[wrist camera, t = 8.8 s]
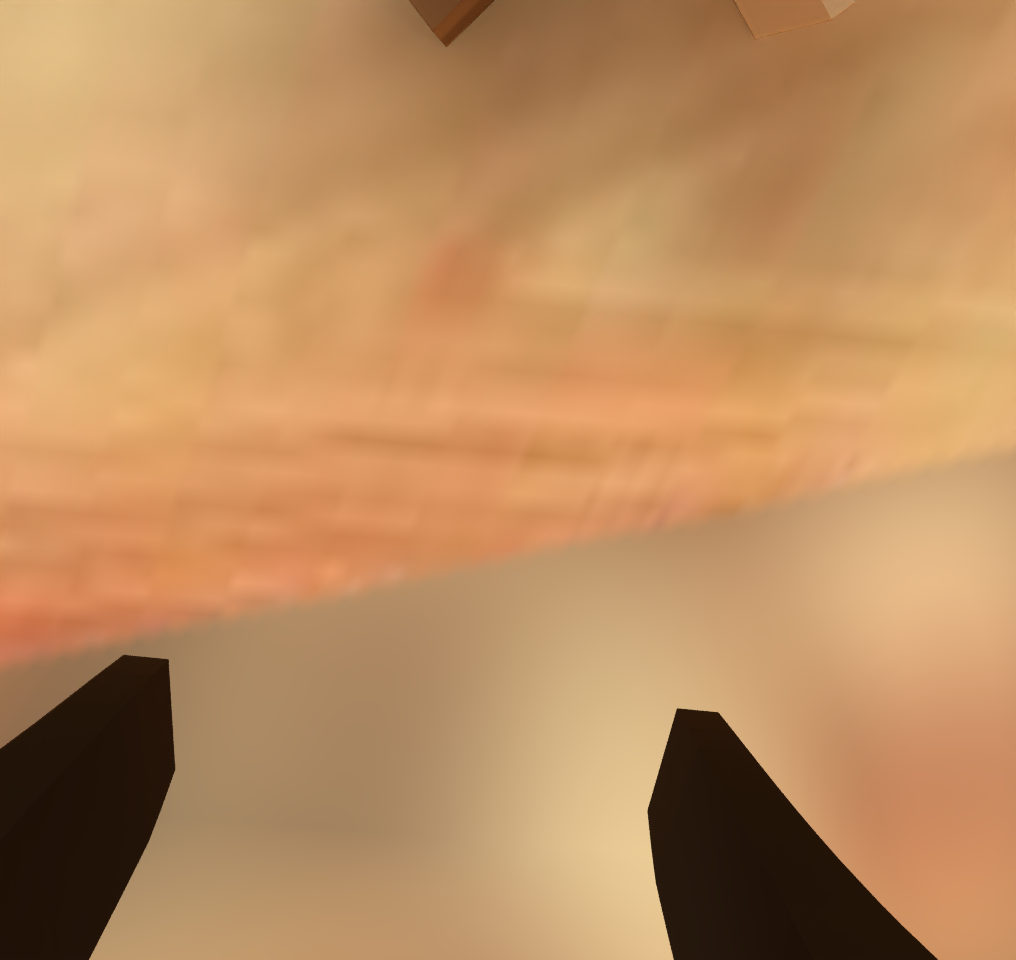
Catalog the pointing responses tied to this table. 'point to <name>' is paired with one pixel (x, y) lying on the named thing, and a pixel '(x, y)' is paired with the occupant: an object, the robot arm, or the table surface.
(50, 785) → the robot arm
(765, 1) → the burr puzzle piece
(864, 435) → the table surface
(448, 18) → the walnut slotted plate
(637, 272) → the table surface
